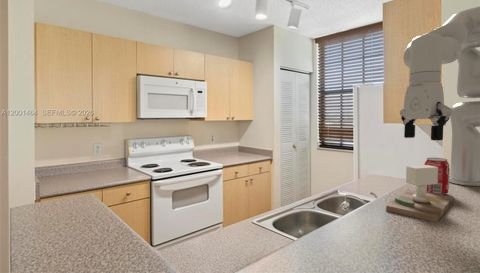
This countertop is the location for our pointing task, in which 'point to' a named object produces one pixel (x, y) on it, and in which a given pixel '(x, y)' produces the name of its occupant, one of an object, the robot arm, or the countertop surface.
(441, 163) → the soda can
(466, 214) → the countertop surface
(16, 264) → the countertop surface
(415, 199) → the knob
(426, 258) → the countertop surface
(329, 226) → the countertop surface
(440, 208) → the dial board
